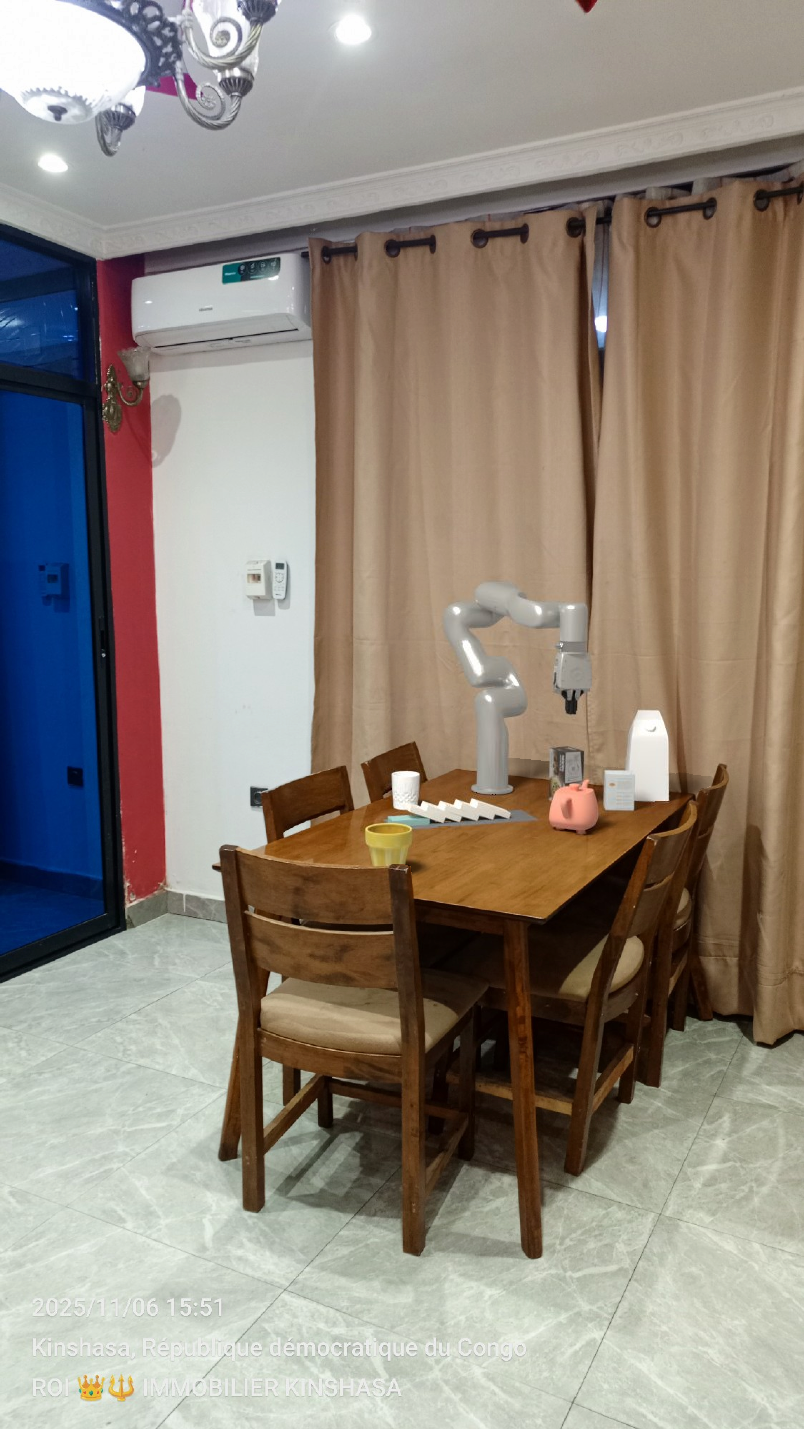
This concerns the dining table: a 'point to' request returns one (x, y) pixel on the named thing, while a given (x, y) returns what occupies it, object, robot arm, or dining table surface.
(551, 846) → the dining table surface
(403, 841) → the plant pot
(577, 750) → the coffee box
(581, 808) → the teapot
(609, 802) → the small box
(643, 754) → the milk
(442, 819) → the domino
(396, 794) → the white cup
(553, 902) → the dining table surface
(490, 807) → the domino
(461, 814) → the domino
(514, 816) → the mat
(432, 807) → the domino
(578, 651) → the robot arm
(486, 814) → the domino
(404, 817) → the domino
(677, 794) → the dining table surface
